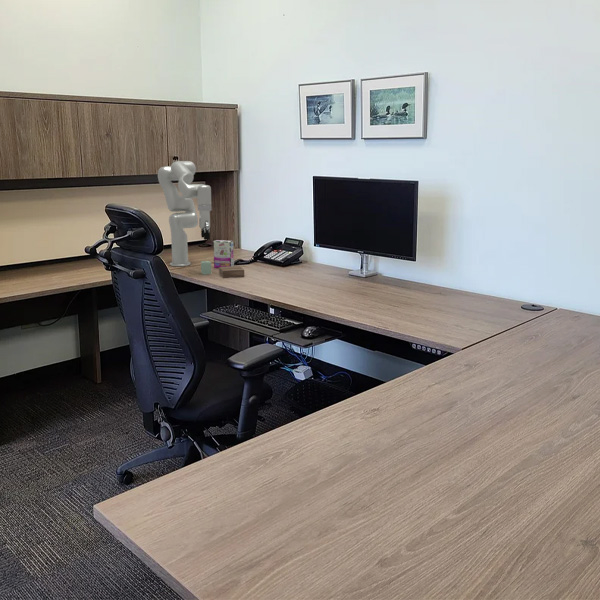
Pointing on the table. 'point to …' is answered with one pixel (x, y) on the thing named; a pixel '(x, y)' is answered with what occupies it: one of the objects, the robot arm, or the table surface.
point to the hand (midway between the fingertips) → (205, 238)
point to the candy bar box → (223, 253)
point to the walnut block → (231, 271)
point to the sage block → (205, 267)
